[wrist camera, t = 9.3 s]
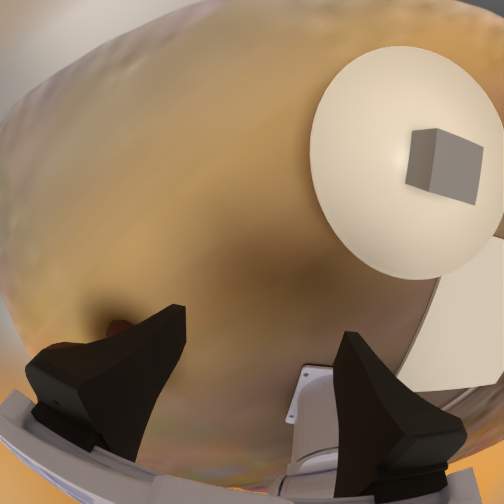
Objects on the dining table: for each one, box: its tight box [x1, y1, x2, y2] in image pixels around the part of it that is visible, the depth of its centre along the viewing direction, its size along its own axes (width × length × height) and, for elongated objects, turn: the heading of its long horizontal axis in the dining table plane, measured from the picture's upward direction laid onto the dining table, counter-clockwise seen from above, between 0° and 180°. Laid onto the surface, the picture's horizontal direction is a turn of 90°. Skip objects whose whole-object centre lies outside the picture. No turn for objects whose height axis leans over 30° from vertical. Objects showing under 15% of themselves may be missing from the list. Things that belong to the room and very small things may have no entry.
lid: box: [309, 46, 504, 280], centre depth 11 cm, size 14×14×4 cm
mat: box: [395, 236, 504, 392], centre depth 20 cm, size 18×18×1 cm
